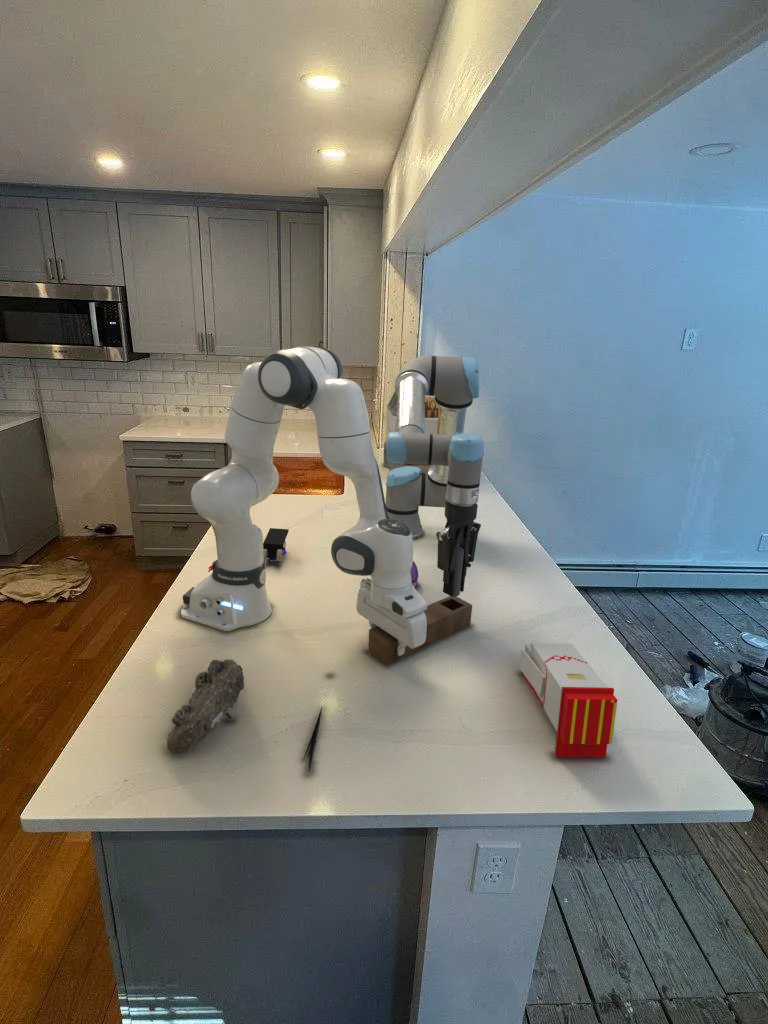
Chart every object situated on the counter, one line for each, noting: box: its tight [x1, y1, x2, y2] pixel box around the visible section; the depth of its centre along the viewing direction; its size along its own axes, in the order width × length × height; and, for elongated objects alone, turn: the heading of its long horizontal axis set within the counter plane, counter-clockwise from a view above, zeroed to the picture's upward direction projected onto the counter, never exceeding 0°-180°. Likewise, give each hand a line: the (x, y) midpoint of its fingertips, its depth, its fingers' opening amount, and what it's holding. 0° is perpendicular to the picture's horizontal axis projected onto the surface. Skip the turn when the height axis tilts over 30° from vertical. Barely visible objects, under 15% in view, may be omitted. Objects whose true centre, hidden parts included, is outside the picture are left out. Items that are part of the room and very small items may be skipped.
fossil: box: [166, 658, 245, 754], centre depth 106 cm, size 22×10×15 cm
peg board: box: [367, 595, 473, 666], centre depth 136 cm, size 28×7×6 cm, turn 131°
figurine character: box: [263, 527, 290, 566], centre depth 175 cm, size 7×8×15 cm
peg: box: [453, 547, 464, 597], centre depth 138 cm, size 3×3×12 cm
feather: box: [301, 673, 332, 771], centre depth 108 cm, size 2×28×2 cm
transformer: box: [383, 390, 465, 472], centre depth 268 cm, size 34×33×41 cm
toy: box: [518, 642, 618, 758], centre depth 113 cm, size 12×13×30 cm
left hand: (387, 645), depth 130 cm, fingers closed on peg board, 6 cm apart
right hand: (453, 591), depth 140 cm, fingers closed on peg, 3 cm apart
